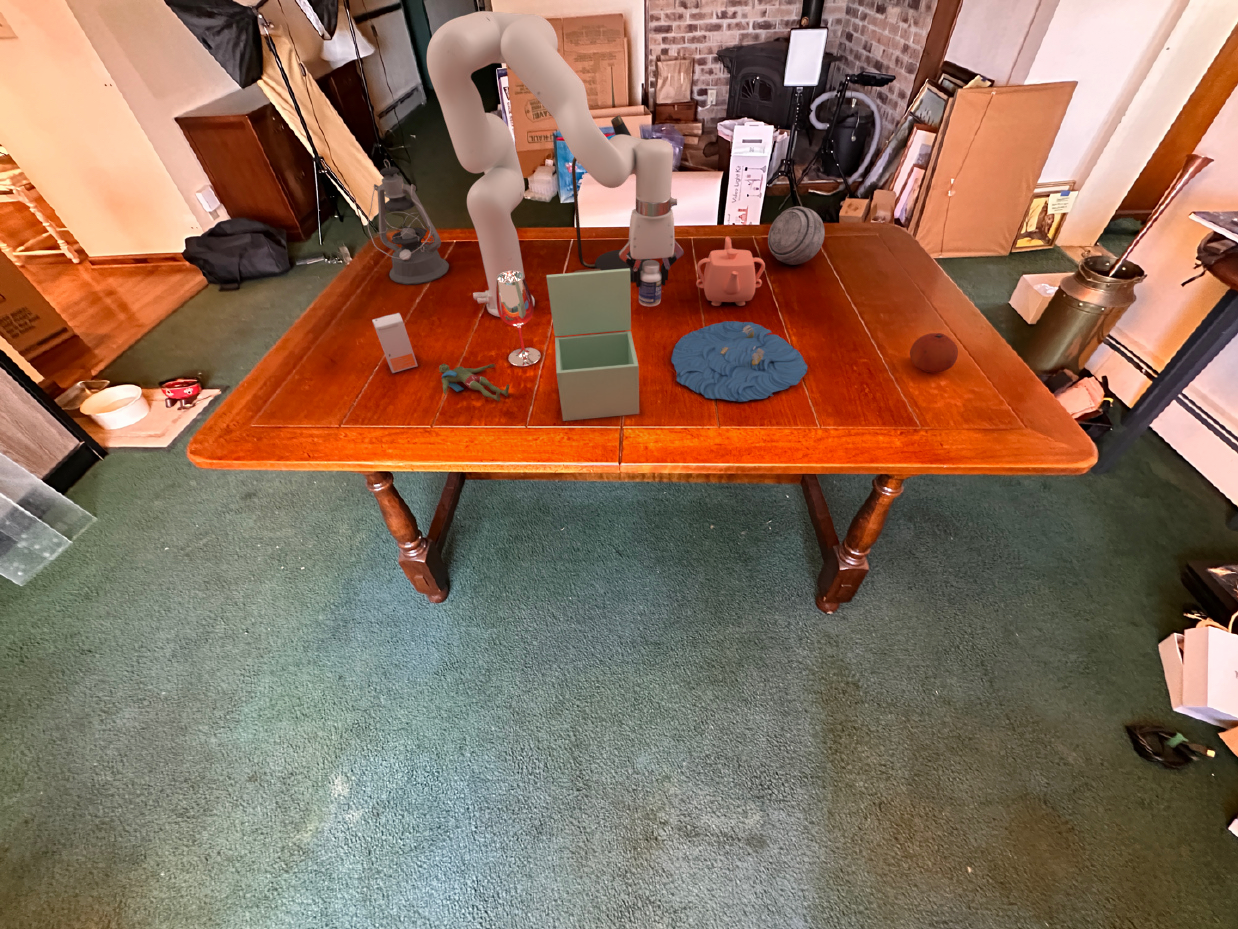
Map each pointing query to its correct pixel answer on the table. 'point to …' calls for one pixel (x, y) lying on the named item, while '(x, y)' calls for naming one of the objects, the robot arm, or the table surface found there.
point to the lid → (590, 301)
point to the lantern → (407, 233)
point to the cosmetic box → (395, 342)
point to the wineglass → (516, 312)
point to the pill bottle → (650, 284)
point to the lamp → (603, 261)
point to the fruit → (934, 352)
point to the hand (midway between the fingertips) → (650, 282)
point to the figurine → (469, 380)
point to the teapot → (729, 275)
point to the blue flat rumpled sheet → (736, 362)
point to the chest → (597, 375)
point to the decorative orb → (796, 235)
